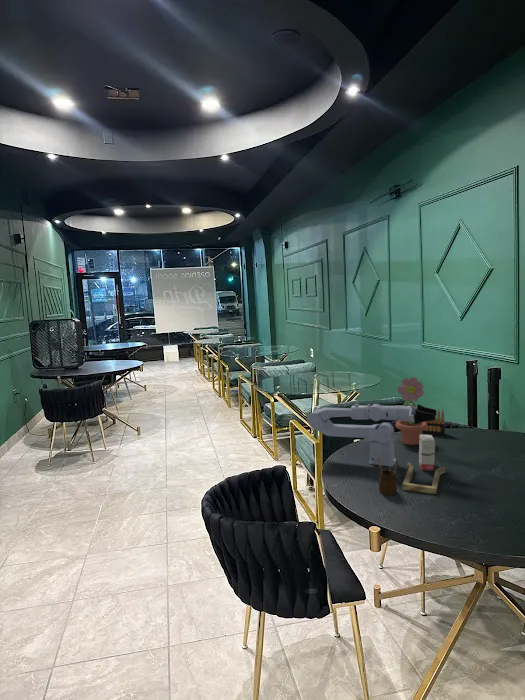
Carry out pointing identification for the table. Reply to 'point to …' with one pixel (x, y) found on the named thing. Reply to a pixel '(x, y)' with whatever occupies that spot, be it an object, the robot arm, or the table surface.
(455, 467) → the table surface
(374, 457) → the robot arm
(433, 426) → the ammunition clip
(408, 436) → the decorative flower
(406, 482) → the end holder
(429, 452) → the ink box
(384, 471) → the utensil holder
